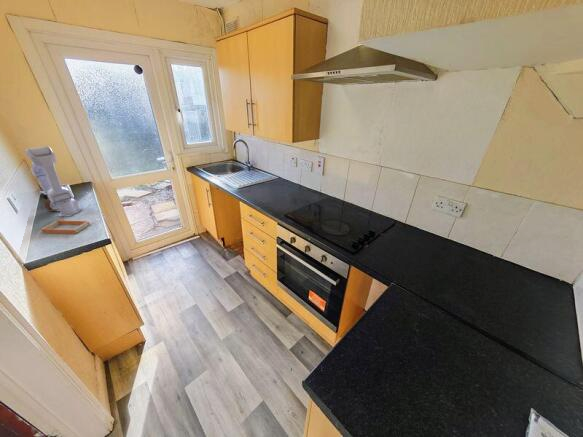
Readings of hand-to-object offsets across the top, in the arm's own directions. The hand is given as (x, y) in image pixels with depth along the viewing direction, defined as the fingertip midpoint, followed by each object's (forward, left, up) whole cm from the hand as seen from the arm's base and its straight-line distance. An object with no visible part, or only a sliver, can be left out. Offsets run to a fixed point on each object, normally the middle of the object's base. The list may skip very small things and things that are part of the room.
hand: (57, 203), depth 154 cm
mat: (0, 0, -3) cm, 3 cm away
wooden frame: (+25, +28, -3) cm, 38 cm away
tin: (0, 0, -3) cm, 3 cm away
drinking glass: (-17, -9, -4) cm, 20 cm away
